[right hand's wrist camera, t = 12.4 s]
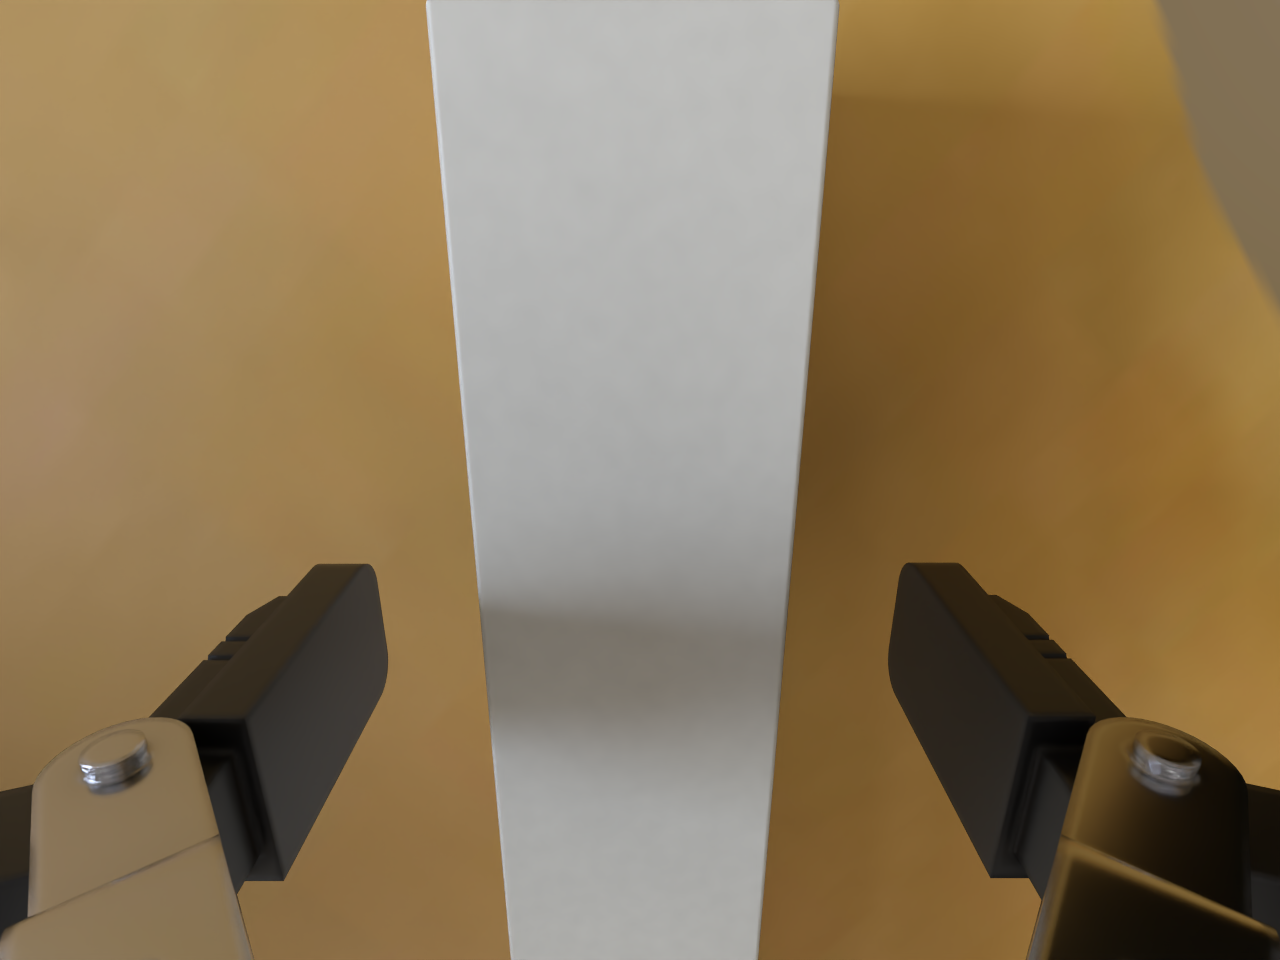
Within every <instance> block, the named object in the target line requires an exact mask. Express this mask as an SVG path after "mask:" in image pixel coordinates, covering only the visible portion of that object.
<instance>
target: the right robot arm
mask: <svg viewBox="0 0 1280 960" xmlns="http://www.w3.org/2000/svg"><path fill="white" fill-rule="evenodd" d="M888 667H889V675H890V681H891V685H892V688H893V691H894V693H895V695H896V697H897V699H898V701H899V703H900V705H901V707H902V709H903V711H904V713H905V715H906V716H907V718H908V720H909V722H910V724H911V726H912V728H913V730H914V732H915V734H916V736H917V738H918V740H919V741H920V743H921V745H922V747H923V749H924V751H925V753H926V755H927V757H928V759H929V761H930V763H931V765H932V766H933V768H934V770H935V772H936V774H937V776H938V778H939V780H940V782H941V784H942V786H943V788H944V789H945V791H946V793H947V795H948V797H949V799H950V801H951V803H952V805H953V807H954V809H955V811H956V813H957V814H958V816H959V818H960V820H961V822H962V824H963V826H964V828H965V830H966V832H967V834H968V836H969V838H970V839H971V841H972V843H973V845H974V847H975V849H976V851H977V853H978V855H979V857H980V859H981V861H982V863H983V864H984V866H985V868H986V870H987V872H988V874H989V876H990V878H1029V879H1030V881H1031V882H1032V884H1033V886H1034V888H1035V889H1036V891H1037V893H1038V895H1039V896H1040V898H1041V900H1042V901H1041V905H1040V908H1039V912H1038V915H1037V919H1036V923H1035V927H1034V931H1033V934H1032V938H1031V942H1030V946H1029V949H1028V953H1027V957H1026V960H1280V790H1275V789H1270V788H1265V787H1261V786H1256V785H1251V784H1247V783H1245V781H1244V779H1243V777H1242V775H1241V774H1240V772H1239V771H1238V770H1237V768H1236V767H1235V766H1234V765H1233V764H1232V763H1231V762H1230V761H1229V760H1228V759H1227V758H1225V757H1224V756H1223V755H1222V754H1220V753H1219V752H1218V751H1217V750H1215V749H1214V748H1212V747H1211V746H1209V745H1207V744H1206V743H1204V742H1202V741H1201V740H1199V739H1197V738H1195V737H1193V736H1191V735H1189V734H1187V733H1185V732H1183V731H1180V730H1178V729H1175V728H1172V727H1170V726H1167V725H1164V724H1160V723H1157V722H1153V721H1149V720H1144V719H1138V718H1129V717H1126V716H1125V715H1124V714H1123V713H1122V712H1121V711H1120V710H1119V709H1118V708H1117V707H1116V706H1115V705H1114V704H1113V702H1112V701H1111V700H1110V699H1109V698H1108V697H1107V696H1106V695H1105V694H1104V693H1103V692H1102V691H1101V690H1100V689H1099V688H1098V687H1097V686H1096V685H1095V684H1094V682H1093V681H1092V680H1091V679H1090V678H1089V677H1088V676H1087V675H1086V674H1085V673H1084V672H1083V671H1082V670H1081V669H1080V668H1079V667H1078V666H1077V665H1076V663H1075V662H1074V661H1073V660H1072V659H1067V657H1066V653H1065V652H1064V651H1063V650H1062V649H1061V648H1060V647H1059V646H1058V644H1057V643H1056V642H1055V641H1054V640H1049V635H1048V634H1047V633H1046V632H1045V631H1044V630H1043V629H1042V628H1041V627H1040V626H1039V624H1038V623H1037V622H1036V621H1035V620H1034V619H1033V618H1032V617H1031V616H1030V615H1029V614H1028V613H1026V612H1025V611H1023V610H1021V609H1019V608H1018V607H1016V606H1014V605H1013V604H1011V603H1009V602H1008V601H1006V600H1004V599H1002V598H1001V597H999V596H997V595H988V594H987V593H986V592H985V591H984V590H983V589H982V587H981V586H980V585H979V584H978V583H977V582H976V581H975V580H974V578H973V577H972V576H971V575H970V574H969V573H968V572H967V571H966V570H965V568H964V567H963V566H962V565H961V564H959V563H906V564H905V565H904V566H903V568H902V570H901V573H900V576H899V582H898V589H897V596H896V603H895V610H894V617H893V624H892V631H891V637H890V644H889V652H888ZM387 670H388V652H387V644H386V638H385V631H384V624H383V617H382V610H381V604H380V597H379V590H378V583H377V578H376V574H375V571H374V569H373V568H372V566H371V565H369V564H317V565H315V566H314V567H313V568H312V569H311V570H310V571H309V572H308V574H307V575H306V576H305V577H304V578H303V579H302V580H301V581H300V582H299V584H298V585H297V586H296V587H295V588H294V589H293V590H292V591H291V592H290V593H289V595H288V596H279V597H277V598H275V599H273V600H272V601H270V602H268V603H267V604H265V605H263V606H261V607H260V608H258V609H256V610H255V611H253V612H251V613H250V614H248V615H246V616H245V618H244V619H243V620H242V621H241V622H240V623H239V624H238V625H237V626H236V627H235V628H234V629H233V630H232V631H231V632H230V633H229V634H228V635H227V636H226V641H222V642H221V643H220V644H219V645H218V646H217V647H216V648H215V649H214V650H213V651H212V652H211V653H210V654H209V655H208V660H203V661H202V662H201V664H200V665H199V666H198V667H197V668H196V669H195V670H194V671H193V672H192V673H191V674H190V675H189V676H188V677H187V678H186V679H185V680H184V681H183V682H182V683H181V684H180V685H179V687H178V688H177V689H176V690H175V691H174V692H173V693H172V694H171V695H170V696H169V697H168V698H167V699H166V700H165V701H164V702H163V703H162V704H161V705H160V706H159V707H158V708H157V710H156V711H155V712H154V713H153V714H152V715H151V716H150V717H149V718H142V719H136V720H131V721H127V722H123V723H120V724H116V725H113V726H110V727H108V728H105V729H102V730H100V731H97V732H95V733H93V734H91V735H89V736H87V737H85V738H83V739H81V740H79V741H78V742H76V743H74V744H73V745H71V746H69V747H68V748H66V749H65V750H63V751H62V752H61V753H60V754H58V755H57V756H56V757H55V758H53V759H52V760H51V761H50V762H49V763H48V764H47V765H46V766H45V767H44V768H43V770H42V771H41V772H40V774H39V775H38V777H37V779H36V781H35V783H34V784H33V785H29V786H25V787H20V788H15V789H10V790H6V791H1V792H0V960H254V957H253V953H252V949H251V946H250V942H249V938H248V934H247V931H246V927H245V923H244V919H243V915H242V912H241V908H240V905H239V901H238V897H237V893H238V892H239V890H240V888H241V887H242V885H243V883H244V881H284V879H285V877H286V875H287V874H288V872H289V870H290V868H291V866H292V864H293V862H294V860H295V858H296V856H297V855H298V853H299V851H300V849H301V847H302V845H303V843H304V841H305V839H306V837H307V836H308V834H309V832H310V830H311V828H312V826H313V824H314V822H315V820H316V818H317V817H318V815H319V813H320V811H321V809H322V807H323V805H324V803H325V801H326V799H327V798H328V796H329V794H330V792H331V790H332V788H333V786H334V784H335V782H336V780H337V779H338V777H339V775H340V773H341V771H342V769H343V767H344V765H345V763H346V762H347V760H348V758H349V756H350V754H351V752H352V750H353V748H354V746H355V744H356V743H357V741H358V739H359V737H360V735H361V733H362V731H363V729H364V727H365V725H366V724H367V722H368V720H369V718H370V716H371V714H372V712H373V710H374V708H375V706H376V705H377V703H378V701H379V699H380V697H381V695H382V693H383V690H384V687H385V683H386V678H387Z"/></svg>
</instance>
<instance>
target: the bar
mask: <svg viewBox="0 0 1280 960" xmlns="http://www.w3.org/2000/svg"><path fill="white" fill-rule="evenodd" d="M426 12H427V23H428V35H429V46H430V57H431V68H432V79H433V91H434V102H435V113H436V124H437V135H438V147H439V158H440V169H441V180H442V192H443V203H444V214H445V225H446V236H447V248H448V259H449V270H450V281H451V293H452V304H453V315H454V326H455V337H456V349H457V360H458V371H459V382H460V393H461V405H462V416H463V427H464V438H465V450H466V461H467V472H468V483H469V494H470V506H471V517H472V528H473V539H474V550H475V562H476V573H477V584H478V595H479V607H480V618H481V629H482V640H483V651H484V663H485V674H486V685H487V696H488V707H489V719H490V730H491V741H492V752H493V764H494V775H495V786H496V797H497V808H498V820H499V831H500V842H501V853H502V864H503V876H504V887H505V898H506V909H507V921H508V932H509V943H510V954H511V960H758V954H759V942H760V931H761V919H762V907H763V895H764V884H765V872H766V860H767V849H768V837H769V825H770V813H771V802H772V790H773V778H774V766H775V755H776V743H777V731H778V720H779V708H780V696H781V684H782V673H783V661H784V649H785V638H786V626H787V614H788V602H789V591H790V579H791V567H792V556H793V544H794V532H795V520H796V509H797V497H798V485H799V473H800V462H801V450H802V438H803V427H804V415H805V403H806V391H807V380H808V368H809V356H810V345H811V333H812V321H813V309H814V298H815V286H816V274H817V262H818V251H819V239H820V227H821V216H822V204H823V192H824V180H825V169H826V157H827V145H828V134H829V122H830V110H831V98H832V87H833V75H834V63H835V51H836V40H837V28H838V16H839V2H838V0H427V3H426Z"/></svg>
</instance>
